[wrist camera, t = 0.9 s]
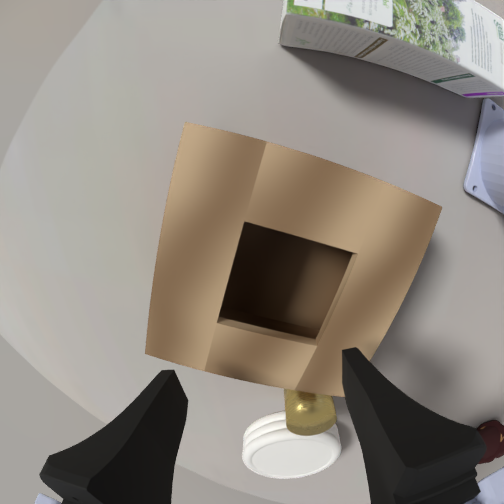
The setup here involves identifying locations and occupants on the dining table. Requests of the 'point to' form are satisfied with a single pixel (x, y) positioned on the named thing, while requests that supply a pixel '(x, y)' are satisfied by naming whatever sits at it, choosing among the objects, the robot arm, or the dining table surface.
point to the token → (308, 412)
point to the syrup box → (407, 38)
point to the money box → (279, 262)
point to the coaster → (287, 449)
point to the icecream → (492, 440)
